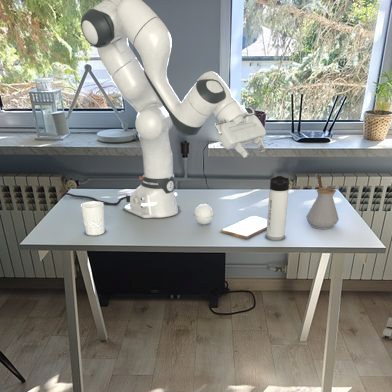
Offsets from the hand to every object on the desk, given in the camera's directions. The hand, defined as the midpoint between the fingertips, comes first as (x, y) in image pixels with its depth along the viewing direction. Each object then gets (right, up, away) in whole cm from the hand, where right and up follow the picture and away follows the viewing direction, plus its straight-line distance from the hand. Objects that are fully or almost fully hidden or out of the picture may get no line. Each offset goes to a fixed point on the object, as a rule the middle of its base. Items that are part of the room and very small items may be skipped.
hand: (255, 153), depth 165 cm
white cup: (-56, -23, +15) cm, 62 cm away
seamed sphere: (-17, -19, +20) cm, 32 cm away
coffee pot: (+26, -17, +23) cm, 39 cm away
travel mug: (+8, -26, +9) cm, 28 cm away
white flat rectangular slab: (0, -20, +17) cm, 27 cm away
